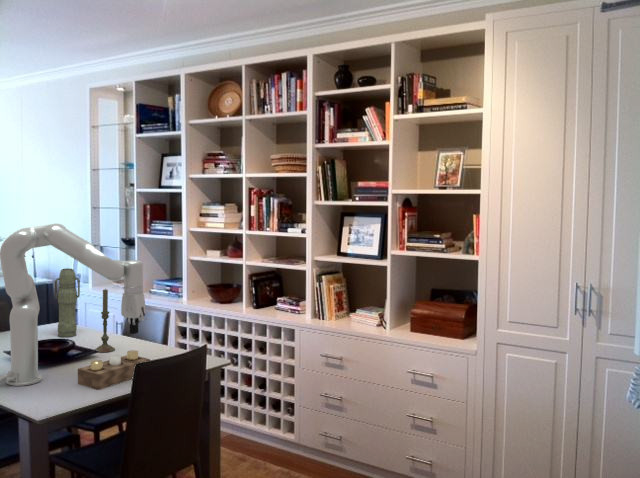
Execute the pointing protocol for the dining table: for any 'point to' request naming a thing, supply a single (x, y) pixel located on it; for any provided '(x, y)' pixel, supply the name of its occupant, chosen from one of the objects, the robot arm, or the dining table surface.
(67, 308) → the thermos
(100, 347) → the candlestick holder
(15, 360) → the robot arm
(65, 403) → the dining table surface
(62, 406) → the dining table surface
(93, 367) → the near brass knob
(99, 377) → the wooden block
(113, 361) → the middle white knob
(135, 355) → the far brass knob
